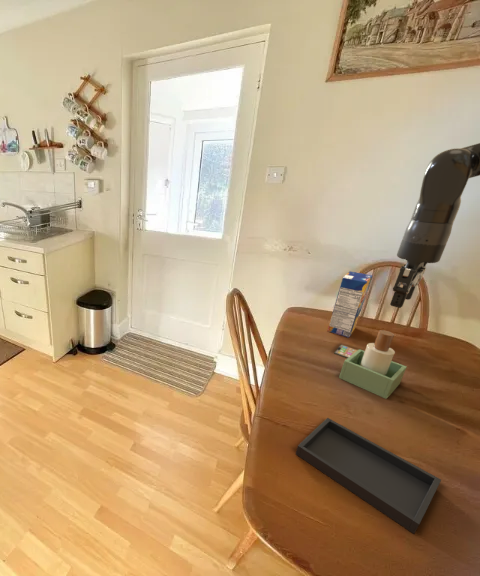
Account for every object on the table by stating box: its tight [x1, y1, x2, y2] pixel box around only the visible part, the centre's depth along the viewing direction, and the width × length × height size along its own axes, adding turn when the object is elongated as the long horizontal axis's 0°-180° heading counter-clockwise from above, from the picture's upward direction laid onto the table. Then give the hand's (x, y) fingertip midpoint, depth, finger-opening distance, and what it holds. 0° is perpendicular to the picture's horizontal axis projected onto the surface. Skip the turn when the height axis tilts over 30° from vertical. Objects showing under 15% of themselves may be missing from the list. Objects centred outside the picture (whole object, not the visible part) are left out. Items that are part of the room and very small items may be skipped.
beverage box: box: [326, 270, 374, 339], centre depth 118 cm, size 7×11×22 cm, turn 132°
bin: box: [338, 348, 408, 400], centre depth 91 cm, size 11×11×7 cm
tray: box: [295, 417, 442, 535], centre depth 65 cm, size 20×15×3 cm
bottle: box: [360, 329, 396, 376], centre depth 89 cm, size 6×6×16 cm
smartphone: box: [333, 344, 359, 359], centre depth 102 cm, size 8×15×1 cm, turn 41°
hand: (400, 302), depth 80 cm, fingers open, 8 cm apart
